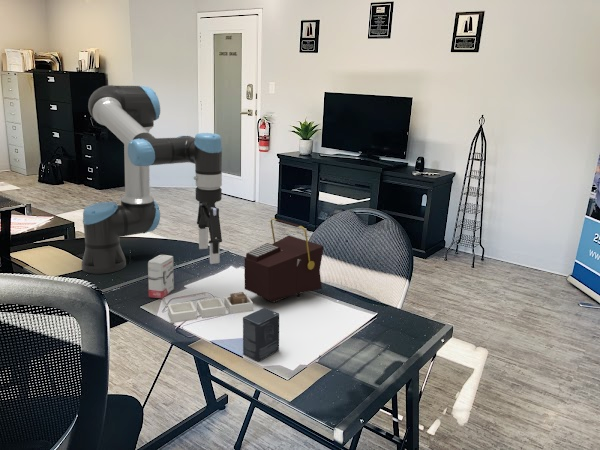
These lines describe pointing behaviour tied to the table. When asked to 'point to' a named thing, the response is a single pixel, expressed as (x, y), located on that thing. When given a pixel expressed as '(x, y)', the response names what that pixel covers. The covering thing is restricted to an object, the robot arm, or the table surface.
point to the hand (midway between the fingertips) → (208, 255)
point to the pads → (164, 302)
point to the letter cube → (238, 298)
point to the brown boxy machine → (283, 267)
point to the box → (260, 334)
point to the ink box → (160, 276)
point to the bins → (206, 309)
